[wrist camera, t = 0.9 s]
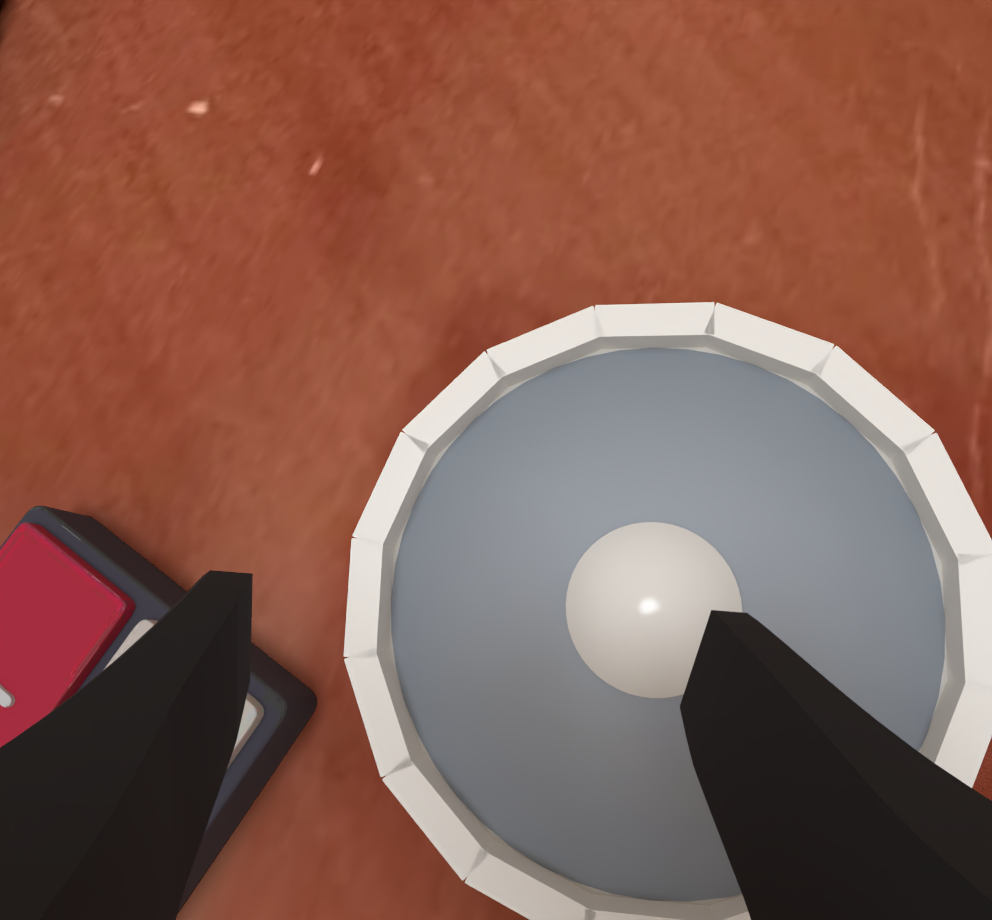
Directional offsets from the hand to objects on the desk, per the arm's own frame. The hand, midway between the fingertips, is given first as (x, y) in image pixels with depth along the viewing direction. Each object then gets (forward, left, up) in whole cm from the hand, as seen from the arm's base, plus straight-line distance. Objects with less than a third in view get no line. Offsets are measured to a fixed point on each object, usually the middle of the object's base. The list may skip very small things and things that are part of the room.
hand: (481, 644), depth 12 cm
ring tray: (-2, -2, -12) cm, 13 cm away
